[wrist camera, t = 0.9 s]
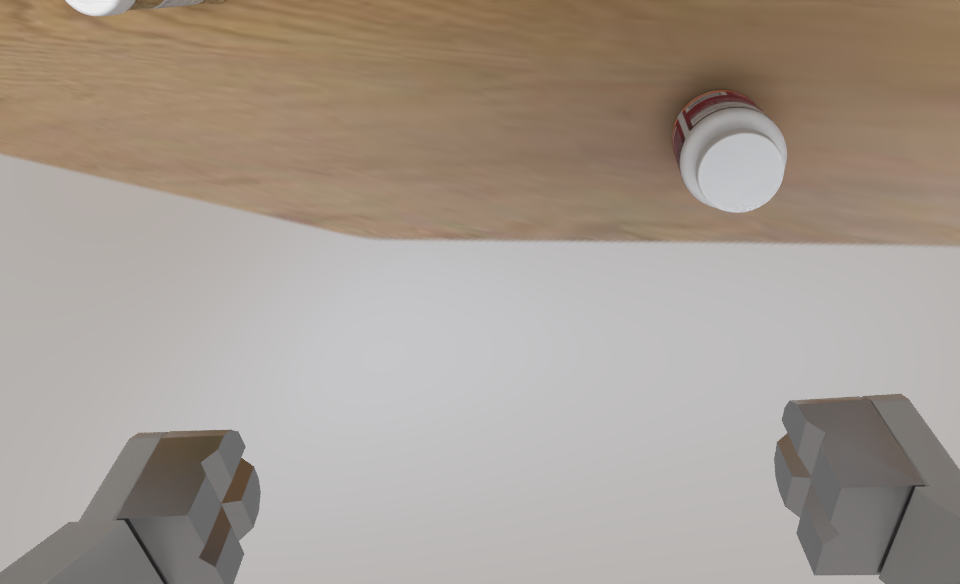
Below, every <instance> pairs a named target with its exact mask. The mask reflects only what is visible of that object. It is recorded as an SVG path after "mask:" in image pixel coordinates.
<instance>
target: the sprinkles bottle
mask: <svg viewBox="0 0 960 584" xmlns="http://www.w3.org/2000/svg"><path fill="white" fill-rule="evenodd" d="M65 1H66V2H67V3H68V4H69V5H70V6H72V7H73V8H74V9H76V10H78V11H79V12H81V13H83V14H87V15H90V16H109V15H118V14H121V13H123V12H125V11H128V10H137V9H155V8H165V7H176V6H187V5H195V4H199V3H212V4H216V3H221V2H223V1H225V0H65Z"/></svg>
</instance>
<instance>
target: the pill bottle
mask: <svg viewBox="0 0 960 584" xmlns="http://www.w3.org/2000/svg"><path fill="white" fill-rule="evenodd" d="M672 145H673V151H674V154H675V157H676V160H677V163H678V166H679V169H680V173H681V176H682V179H683V181H684V183H685V185H686V187H687V188H688V190H689V191H690V193H691V194H692V195H693V196H694V197H695V198H697V199H698V200H699V201H701V202H702V203H704V204H706V205H708V206H711V207H714V208H718V209H720V210H723V211H727V212H733V213H740V212H747V211H751V210H754V209H756V208H758V207H760V206H762V205H764V204H765V203H766V202H768V201H769V200H770V199H771V198H772V197H773V196H774V195H775V193H776V192H777V191H778V189H779V187H780V185H781V183H782V180H783V176H784V170H785V166H786V161H787V148H786V143H785V140H784V137H783V135H782V133H781V131H780V130H779V128H778V127H777V126H776V124H775V123H774V122H773V121H772V120H771V119H770V118H769V117H768V116H767V115H766V114H765V113H764V112H763V111H762V110H761V109H760V108H759V107H758V106H757V105H756V104H755V103H754V102H753V101H751V100H750V99H749V98H747V97H746V96H744V95H742V94H740V93H737V92H734V91H729V90H716V91H710V92H707V93H704V94H702V95H700V96H698V97H696V98H694V99H693V100H692V101H690V102H689V103H688V104H687V105H686V106H685V107H684V108H683V109H682V111H681V112H680V114H679V115H678V117H677V119H676V121H675V124H674V127H673V133H672Z"/></svg>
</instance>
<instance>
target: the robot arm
mask: <svg viewBox="0 0 960 584" xmlns="http://www.w3.org/2000/svg"><path fill="white" fill-rule="evenodd" d="M782 421H783V424H784V426H785V428H786V430H787V434H786V435H785V436H784V437H782V438H781V439H780V440H779V441H778V442H777V446H776V452H775V458H774V461H775V474H776V475H775V476H776V480H777V484H778V488H779V492H780V494H781V497H782V499H783V502H784V504H785V507H787V508H788V509H789V510H791V511H792V512H793V513H795V514H796V515H797V516H798V517H800V521H799V526H798V530H797V535H798V538H799V540H800V542H801V545H802V547H803V550H804V552H805V554H806V557H807V559H808V561H809V564H810V566H811V568H812V571H813V573H814V575H880V576H879V579H880V580H882V581H883V582H884V583H885V584H960V469H959V468H958V467H957V465H956V464H955V462H954V461H953V460H952V458H951V457H950V455H949V454H948V453H947V451H946V450H945V449H944V447H943V446H942V445H941V443H940V442H939V440H938V439H937V437H936V436H935V435H934V433H933V432H932V431H931V429H930V428H929V426H928V425H927V424H926V422H925V421H924V420H923V418H922V417H921V416H920V414H919V413H918V411H917V410H916V408H915V407H914V406H913V404H912V403H911V402H910V400H909V399H908V398H906V397H905V396H903V395H902V394H891V395H875V396H863V397H843V398H827V399H810V400H793V401H789V402H788V404H787V405H786V407H785V409H784V413H783V417H782ZM244 449H245V445H244V442H243V440H242V438H241V436H240V434H239V432H238V431H233V430H207V431H171V432H157V433H155V432H154V433H138V434H136V435H135V436H133V437H132V438H130V439H129V440H128V442H127V443H126V445H125V447H124V448H123V450H122V452H121V453H120V455H119V456H118V458H117V460H116V461H115V463H114V465H113V466H112V468H111V469H110V471H109V473H108V474H107V476H106V478H105V479H104V481H103V483H102V484H101V486H100V487H99V489H98V491H97V492H96V494H95V496H94V498H93V499H92V501H91V502H90V504H89V506H88V507H87V509H86V511H85V512H84V514H83V515H82V517H81V519H80V520H79V522H69V523H67V524H66V525H64V526H63V527H62V528H60V529H59V530H58V531H56V532H55V533H54V534H52V535H51V536H49V537H48V538H47V539H45V540H44V541H43V542H41V543H40V544H38V545H37V546H36V547H34V548H33V549H32V550H30V551H29V552H27V553H26V554H25V555H23V556H22V557H21V558H19V559H18V560H17V561H15V562H14V563H12V564H11V565H10V566H8V567H7V568H6V569H4V570H3V571H2V572H0V584H233V583H234V580H235V578H236V575H237V572H238V569H239V567H240V564H241V561H242V558H243V555H244V552H243V550H242V548H241V545H240V543H239V540H240V539H242V538H243V537H244V536H245V535H246V534H247V533H248V532H249V531H250V530H251V529H252V528H253V527H254V524H255V521H256V518H257V515H258V511H259V503H260V485H259V479H258V476H257V473H256V471H255V468H254V466H252V465H251V464H249V463H248V462H246V461H245V460H244V459H242V458H241V457H242V454H243V452H244Z"/></svg>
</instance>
